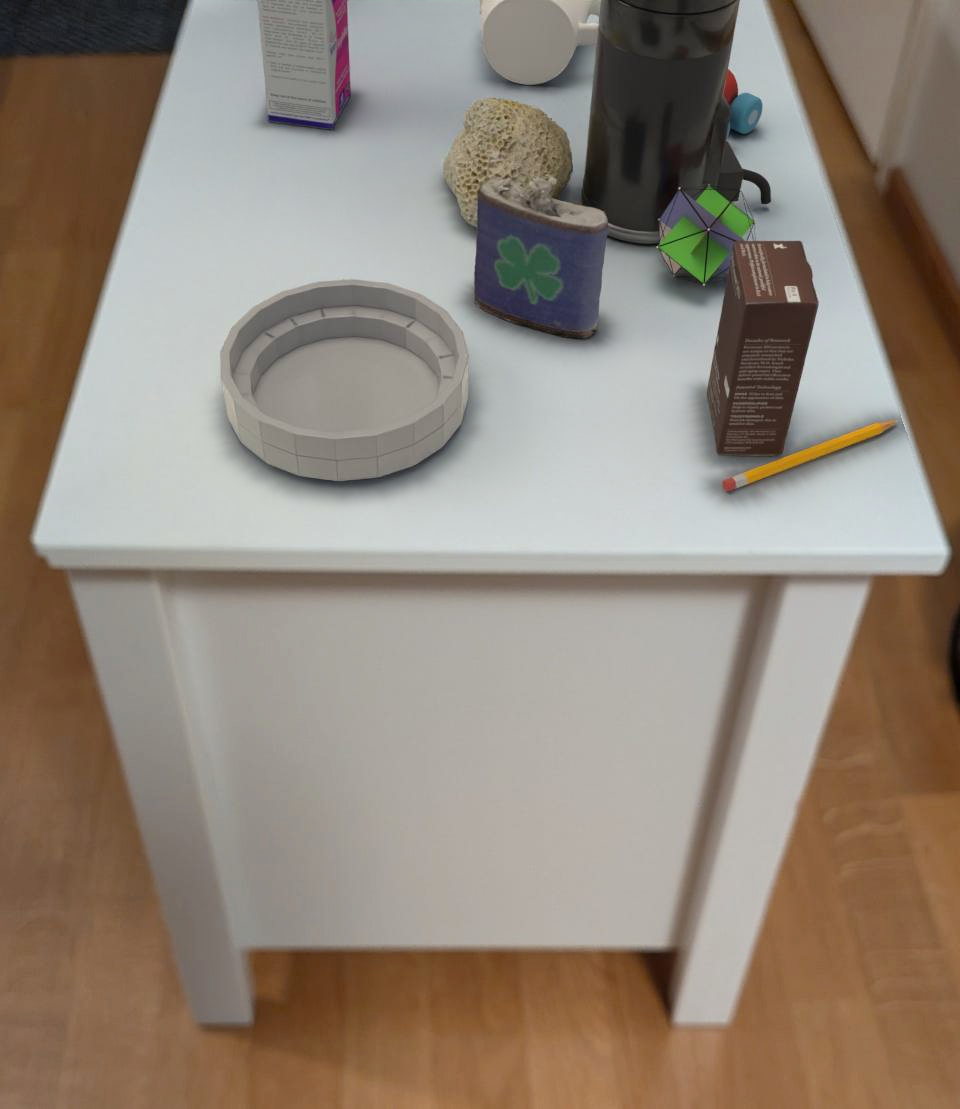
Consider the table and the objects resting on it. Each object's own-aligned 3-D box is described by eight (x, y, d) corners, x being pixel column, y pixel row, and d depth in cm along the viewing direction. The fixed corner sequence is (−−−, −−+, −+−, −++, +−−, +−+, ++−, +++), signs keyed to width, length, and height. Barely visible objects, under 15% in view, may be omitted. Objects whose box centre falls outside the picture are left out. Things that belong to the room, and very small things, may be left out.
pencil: (726, 478, 75) (730, 489, 75) (900, 413, 80) (905, 423, 79) (720, 482, 76) (725, 493, 76) (893, 417, 80) (898, 427, 80)
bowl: (449, 319, 86) (449, 271, 83) (483, 473, 76) (484, 425, 73) (226, 337, 85) (218, 288, 82) (231, 497, 75) (222, 449, 72)
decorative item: (618, 184, 90) (498, 147, 86) (558, 273, 96) (443, 242, 92) (578, 83, 97) (465, 43, 92) (525, 171, 103) (416, 138, 98)
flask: (602, 323, 86) (617, 186, 78) (585, 347, 85) (598, 210, 77) (483, 284, 89) (486, 148, 81) (464, 307, 87) (465, 170, 79)
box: (700, 394, 82) (731, 237, 73) (769, 395, 82) (809, 238, 73) (710, 458, 78) (745, 300, 69) (783, 460, 78) (827, 302, 69)
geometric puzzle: (688, 170, 82) (620, 262, 87) (769, 236, 82) (697, 323, 87) (715, 145, 88) (650, 232, 93) (791, 206, 88) (722, 290, 93)
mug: (470, 81, 108) (472, -12, 102) (483, 30, 114) (485, -59, 108) (609, 92, 108) (619, 0, 102) (614, 41, 114) (624, -49, 108)
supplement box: (335, 131, 102) (325, -9, 94) (266, 122, 103) (249, -18, 95) (354, 96, 106) (346, -42, 98) (287, 88, 107) (273, -50, 98)
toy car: (765, 125, 104) (789, 7, 97) (700, 165, 100) (720, 44, 93) (679, 85, 109) (696, -31, 101) (613, 121, 104) (625, 3, 97)
